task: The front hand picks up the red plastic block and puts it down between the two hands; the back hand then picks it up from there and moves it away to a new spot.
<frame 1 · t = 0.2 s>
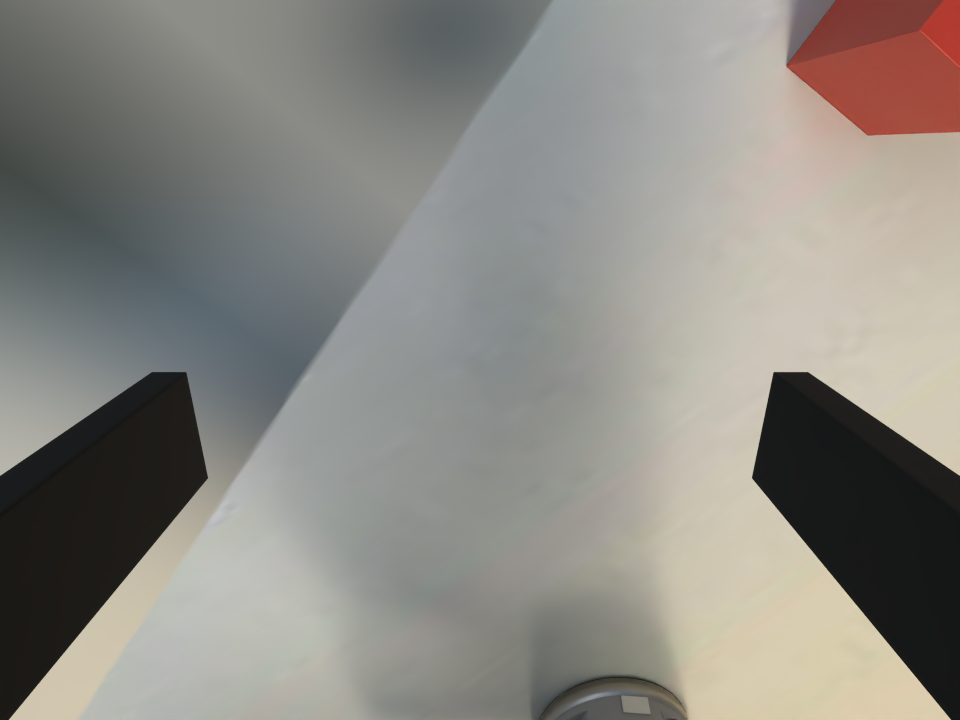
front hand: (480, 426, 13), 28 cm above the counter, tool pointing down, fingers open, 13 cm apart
block: (878, 37, 34), on the counter
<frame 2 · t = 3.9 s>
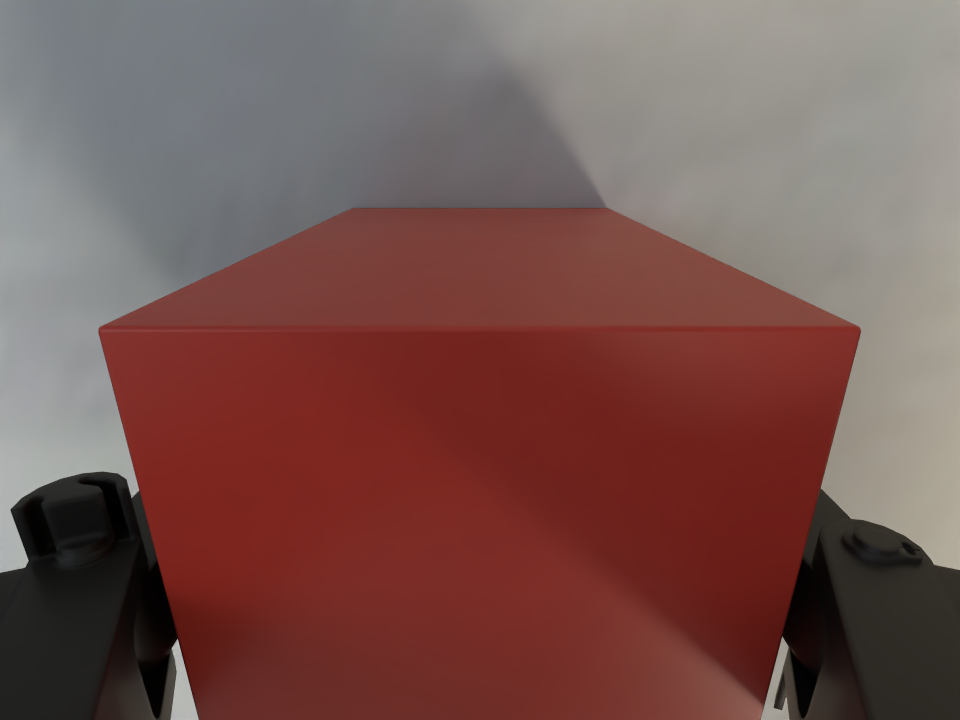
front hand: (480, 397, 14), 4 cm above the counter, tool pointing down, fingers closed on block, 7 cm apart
block: (479, 350, 17), on the counter, touching front hand
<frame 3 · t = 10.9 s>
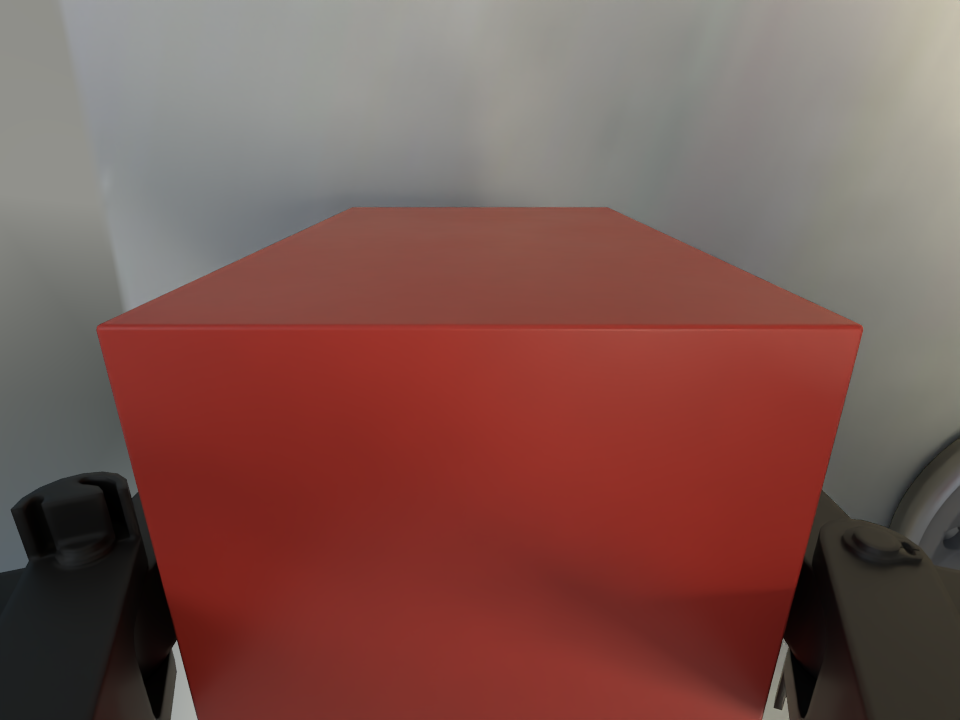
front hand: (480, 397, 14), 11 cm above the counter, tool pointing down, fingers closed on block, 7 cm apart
block: (479, 349, 17), point 7 cm above the counter, touching front hand
when the front hand's fingers open (5 cm above the counter, at t = 18.3 s): block drops 2 cm, on the counter.
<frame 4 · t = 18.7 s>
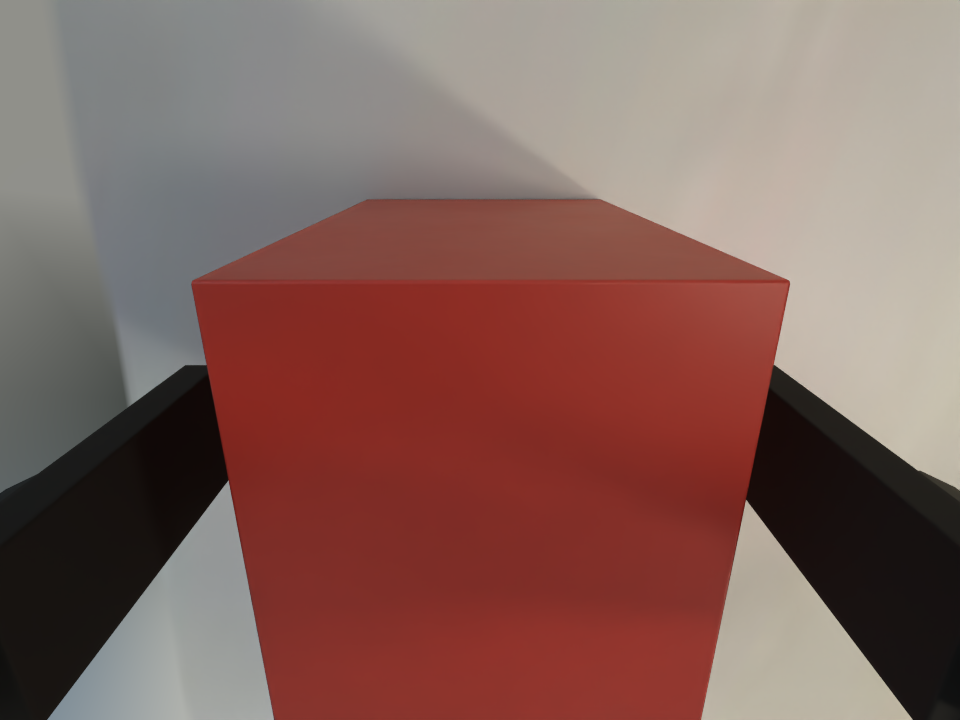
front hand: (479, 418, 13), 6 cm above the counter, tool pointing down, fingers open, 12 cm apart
block: (483, 331, 19), on the counter
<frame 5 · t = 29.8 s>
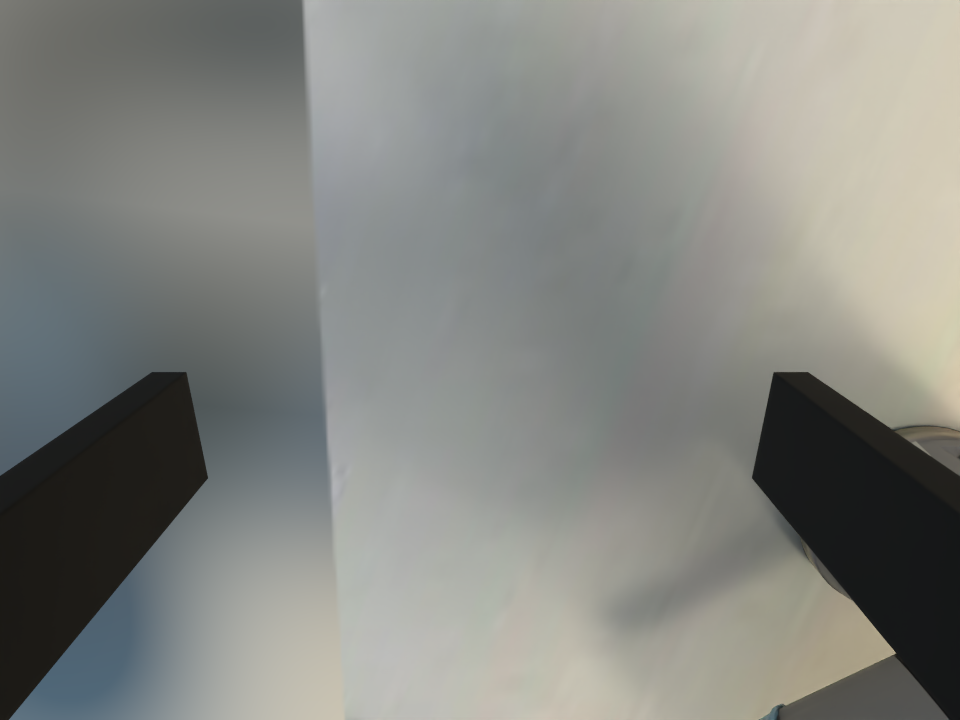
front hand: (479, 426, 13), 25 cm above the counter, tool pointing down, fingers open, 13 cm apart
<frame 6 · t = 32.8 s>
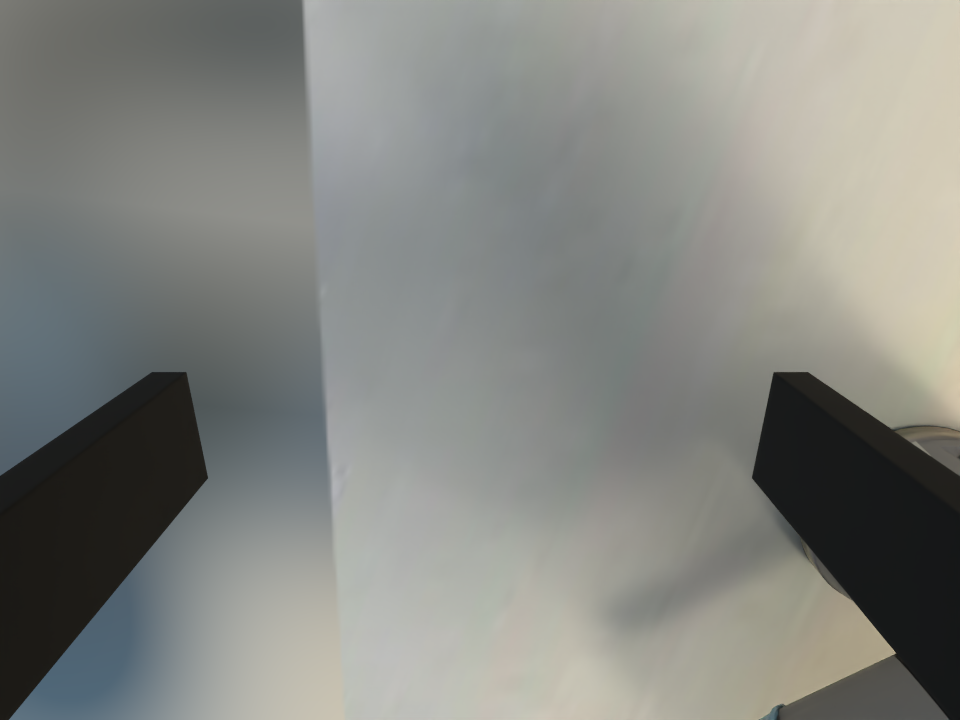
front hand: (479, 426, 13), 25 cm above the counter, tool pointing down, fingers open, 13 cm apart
when the back hand's fingers open (5 cm above the counter, at t = 35.9 s): block drops 1 cm, on the counter.
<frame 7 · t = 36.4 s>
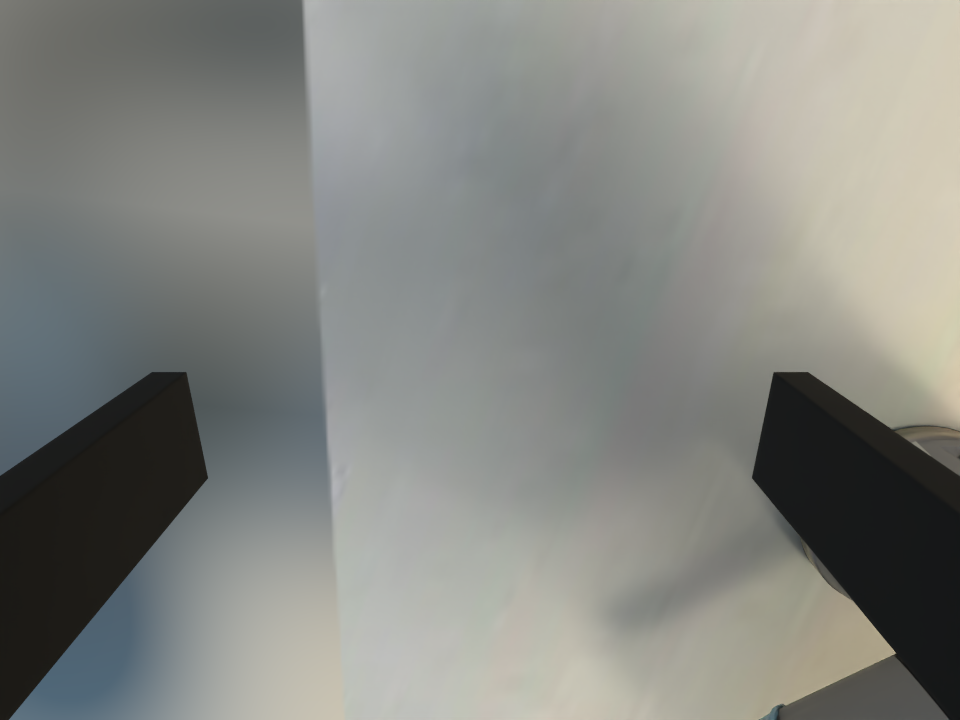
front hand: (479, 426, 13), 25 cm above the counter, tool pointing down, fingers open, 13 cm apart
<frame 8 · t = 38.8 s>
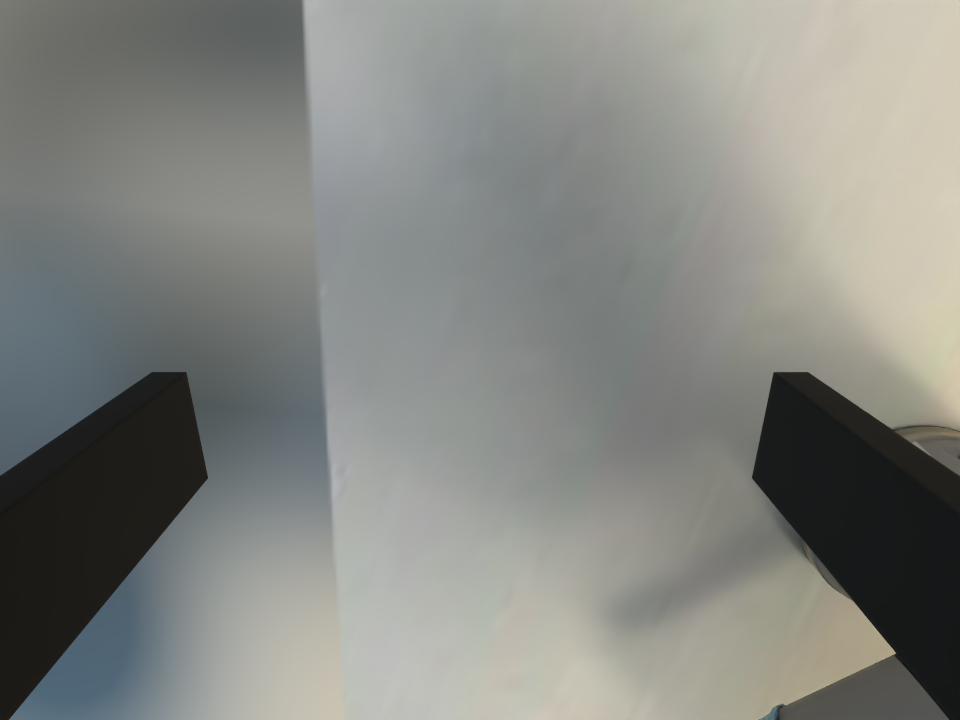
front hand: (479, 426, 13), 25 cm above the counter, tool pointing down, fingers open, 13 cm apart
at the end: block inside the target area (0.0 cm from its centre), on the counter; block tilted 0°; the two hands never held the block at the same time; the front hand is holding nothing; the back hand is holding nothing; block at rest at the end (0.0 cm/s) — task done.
